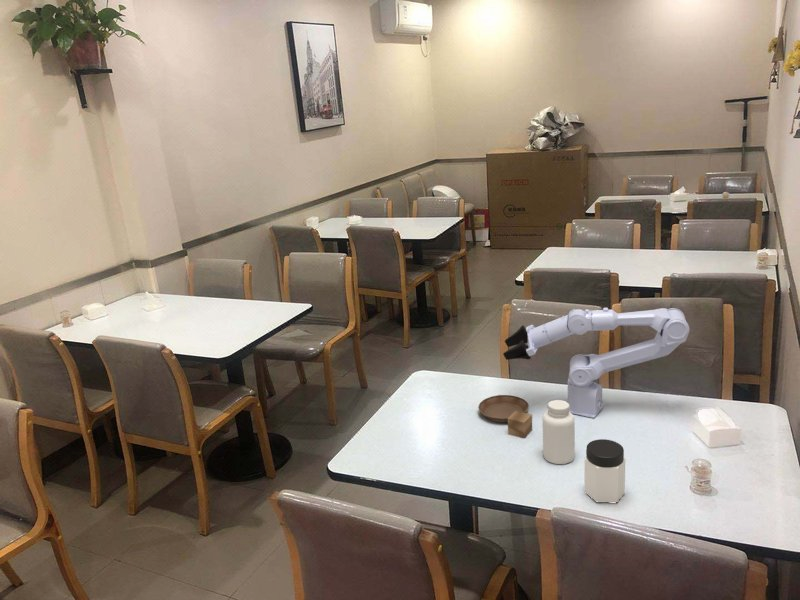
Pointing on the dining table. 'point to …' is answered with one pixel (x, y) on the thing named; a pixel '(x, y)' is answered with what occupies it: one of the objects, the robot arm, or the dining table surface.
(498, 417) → the saucer
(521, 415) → the cube
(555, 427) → the pill bottle
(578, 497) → the dining table surface
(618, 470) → the jar
